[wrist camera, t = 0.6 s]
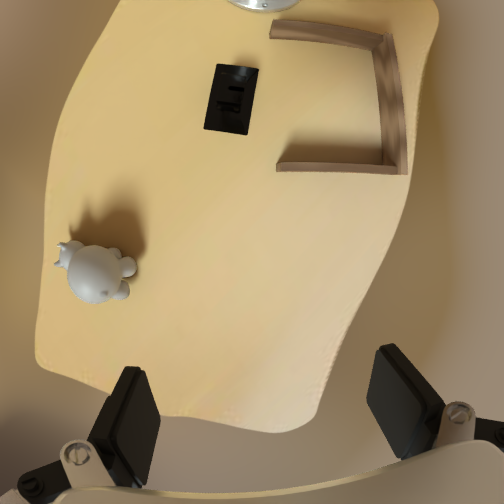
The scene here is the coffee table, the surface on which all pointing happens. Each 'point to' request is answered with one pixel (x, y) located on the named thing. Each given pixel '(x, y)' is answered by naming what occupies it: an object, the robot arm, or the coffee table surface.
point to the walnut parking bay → (386, 87)
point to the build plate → (231, 99)
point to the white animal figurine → (95, 271)
